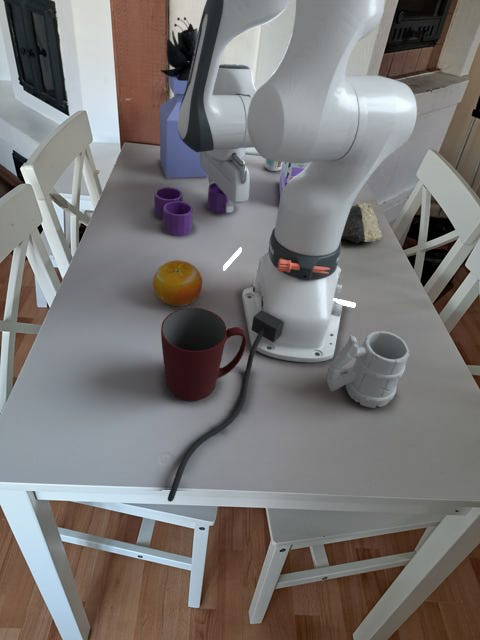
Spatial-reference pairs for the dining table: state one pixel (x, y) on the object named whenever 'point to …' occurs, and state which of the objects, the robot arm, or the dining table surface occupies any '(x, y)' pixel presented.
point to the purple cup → (165, 199)
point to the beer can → (273, 165)
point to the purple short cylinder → (216, 199)
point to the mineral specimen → (362, 224)
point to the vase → (172, 149)
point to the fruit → (177, 283)
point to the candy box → (290, 173)
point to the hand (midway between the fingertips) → (221, 202)
